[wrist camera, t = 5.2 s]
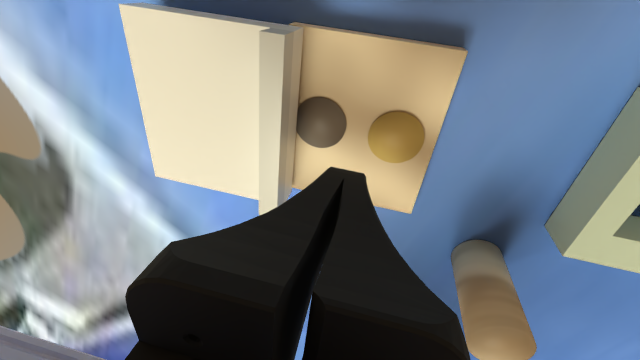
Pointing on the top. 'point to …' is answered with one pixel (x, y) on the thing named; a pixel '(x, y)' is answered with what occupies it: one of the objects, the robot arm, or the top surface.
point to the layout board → (372, 109)
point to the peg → (490, 304)
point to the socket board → (605, 200)
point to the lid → (217, 98)
